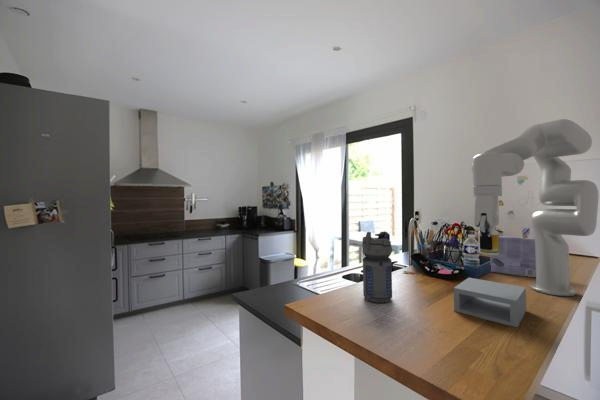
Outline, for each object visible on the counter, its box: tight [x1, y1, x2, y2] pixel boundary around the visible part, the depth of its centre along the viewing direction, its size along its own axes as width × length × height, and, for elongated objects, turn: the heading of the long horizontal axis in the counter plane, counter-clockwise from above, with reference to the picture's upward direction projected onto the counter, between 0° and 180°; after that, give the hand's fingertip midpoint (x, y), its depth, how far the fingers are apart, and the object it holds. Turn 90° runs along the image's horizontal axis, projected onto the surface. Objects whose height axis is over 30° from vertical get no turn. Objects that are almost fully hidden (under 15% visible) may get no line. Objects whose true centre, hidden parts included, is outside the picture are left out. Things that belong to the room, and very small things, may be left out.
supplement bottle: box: [477, 225, 500, 256], centre depth 86 cm, size 5×5×10 cm
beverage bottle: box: [361, 231, 393, 304], centre depth 99 cm, size 10×13×25 cm
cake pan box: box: [489, 235, 536, 278], centre depth 126 cm, size 19×5×18 cm, turn 49°
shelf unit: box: [453, 277, 527, 328], centre depth 86 cm, size 16×16×8 cm
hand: (488, 247), depth 86 cm, fingers closed on supplement bottle, 5 cm apart
